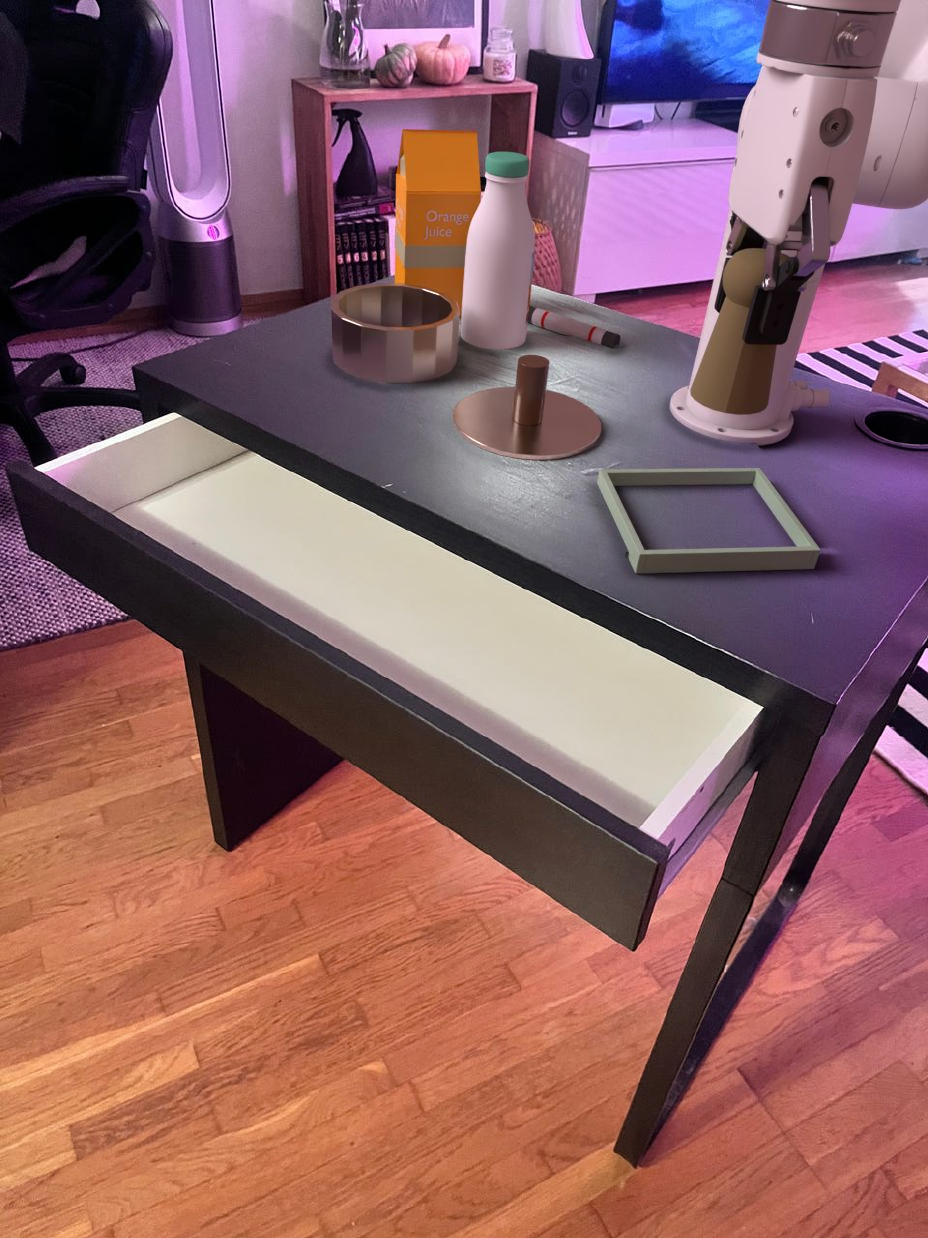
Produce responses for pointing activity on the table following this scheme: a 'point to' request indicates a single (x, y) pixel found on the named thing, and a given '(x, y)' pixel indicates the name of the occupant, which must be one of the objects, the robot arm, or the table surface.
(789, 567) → the grey rectangular frame
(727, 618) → the table surface
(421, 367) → the pan
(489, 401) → the pan lid
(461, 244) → the orange juice
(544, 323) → the marker
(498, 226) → the milk bottle
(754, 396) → the brown chess pawn
